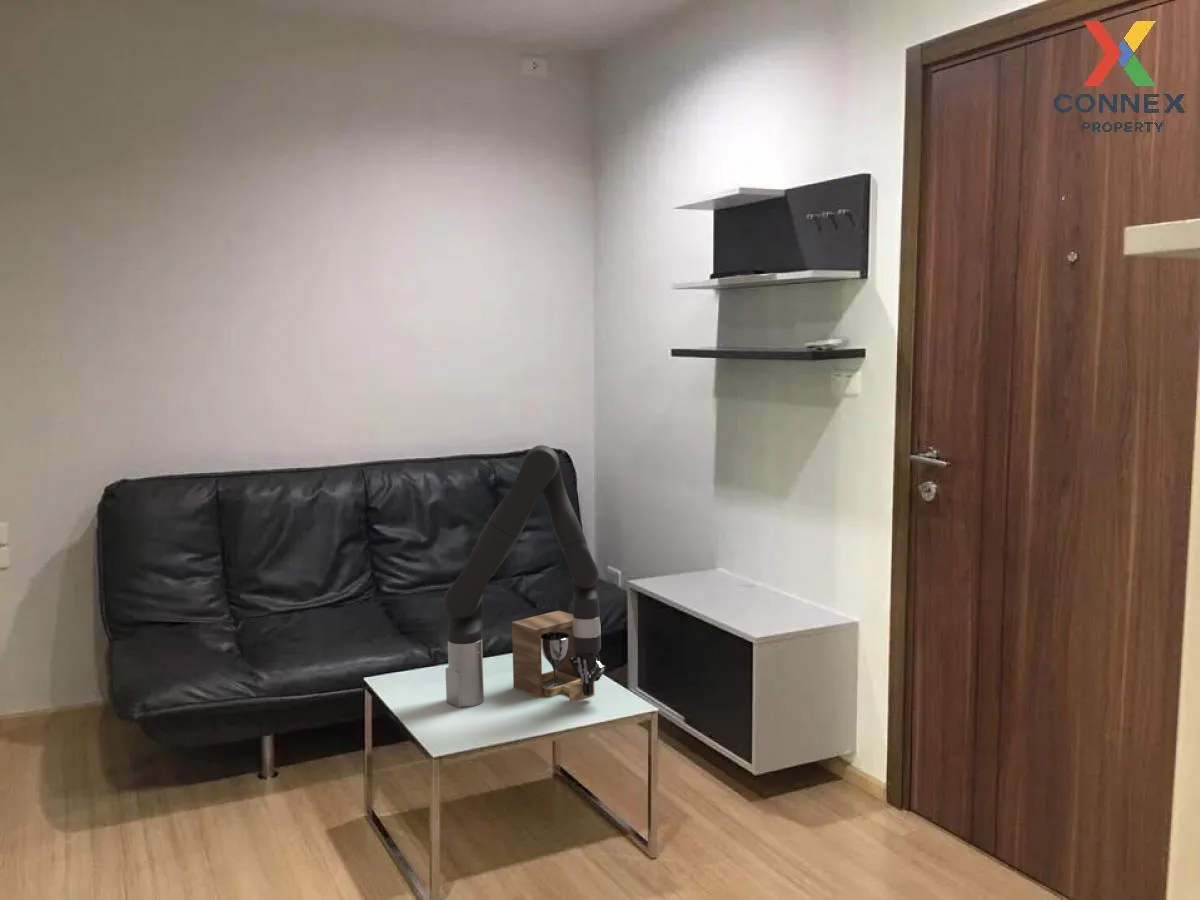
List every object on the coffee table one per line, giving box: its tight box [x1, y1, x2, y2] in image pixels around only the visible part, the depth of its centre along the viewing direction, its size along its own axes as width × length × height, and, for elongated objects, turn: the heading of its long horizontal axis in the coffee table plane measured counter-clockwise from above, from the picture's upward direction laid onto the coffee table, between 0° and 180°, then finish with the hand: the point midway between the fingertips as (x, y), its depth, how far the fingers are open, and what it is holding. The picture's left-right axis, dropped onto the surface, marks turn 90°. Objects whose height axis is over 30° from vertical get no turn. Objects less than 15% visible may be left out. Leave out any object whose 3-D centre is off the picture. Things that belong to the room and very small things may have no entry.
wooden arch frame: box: [511, 610, 580, 698], centre depth 288 cm, size 17×11×19 cm, turn 132°
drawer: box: [542, 670, 596, 703], centre depth 285 cm, size 12×19×4 cm, turn 42°
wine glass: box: [541, 631, 569, 688], centre depth 286 cm, size 8×8×15 cm
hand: (588, 695), depth 276 cm, fingers closed
